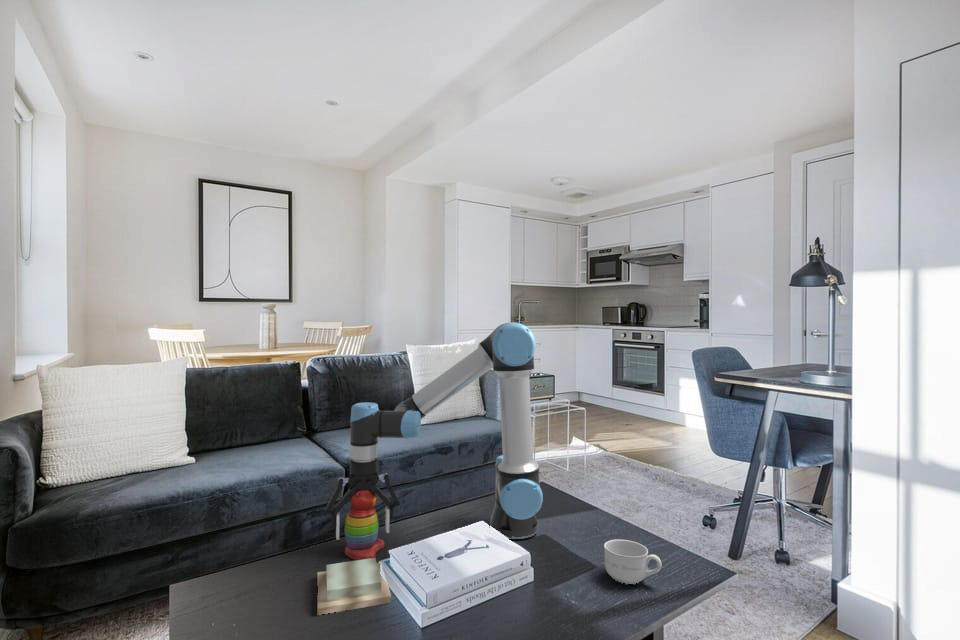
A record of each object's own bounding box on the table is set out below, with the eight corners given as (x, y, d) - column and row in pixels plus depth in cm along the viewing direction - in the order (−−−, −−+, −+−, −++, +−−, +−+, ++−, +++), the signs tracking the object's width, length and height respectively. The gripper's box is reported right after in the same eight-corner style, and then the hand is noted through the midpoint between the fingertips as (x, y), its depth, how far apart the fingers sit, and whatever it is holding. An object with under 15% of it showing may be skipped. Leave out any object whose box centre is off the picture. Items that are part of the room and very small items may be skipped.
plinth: (382, 568, 124) (382, 552, 124) (391, 602, 109) (391, 585, 109) (317, 578, 119) (317, 562, 119) (317, 615, 103) (317, 597, 104)
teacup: (596, 578, 120) (596, 546, 120) (616, 562, 128) (616, 533, 128) (649, 600, 111) (649, 566, 111) (667, 582, 119) (668, 550, 119)
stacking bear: (371, 562, 127) (372, 496, 127) (336, 558, 129) (337, 493, 129) (387, 544, 137) (387, 483, 137) (354, 540, 139) (355, 480, 139)
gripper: (405, 451, 141) (404, 523, 141) (317, 458, 133) (315, 534, 132) (410, 458, 134) (409, 533, 133) (316, 466, 126) (315, 546, 125)
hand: (362, 534), depth 133 cm, fingers open, 13 cm apart
